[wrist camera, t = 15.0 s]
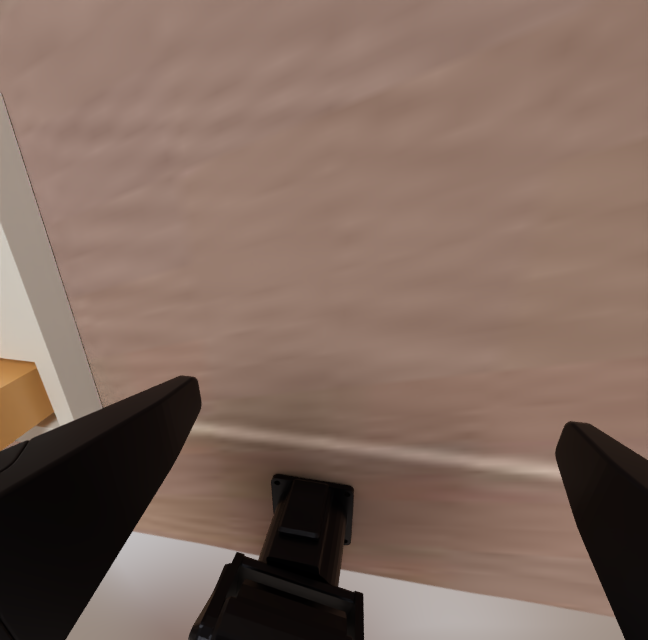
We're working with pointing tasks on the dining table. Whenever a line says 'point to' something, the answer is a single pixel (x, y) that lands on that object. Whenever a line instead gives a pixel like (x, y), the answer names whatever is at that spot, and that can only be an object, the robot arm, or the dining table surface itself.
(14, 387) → the orange plug
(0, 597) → the robot arm
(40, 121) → the dining table surface
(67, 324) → the white slotted frame
